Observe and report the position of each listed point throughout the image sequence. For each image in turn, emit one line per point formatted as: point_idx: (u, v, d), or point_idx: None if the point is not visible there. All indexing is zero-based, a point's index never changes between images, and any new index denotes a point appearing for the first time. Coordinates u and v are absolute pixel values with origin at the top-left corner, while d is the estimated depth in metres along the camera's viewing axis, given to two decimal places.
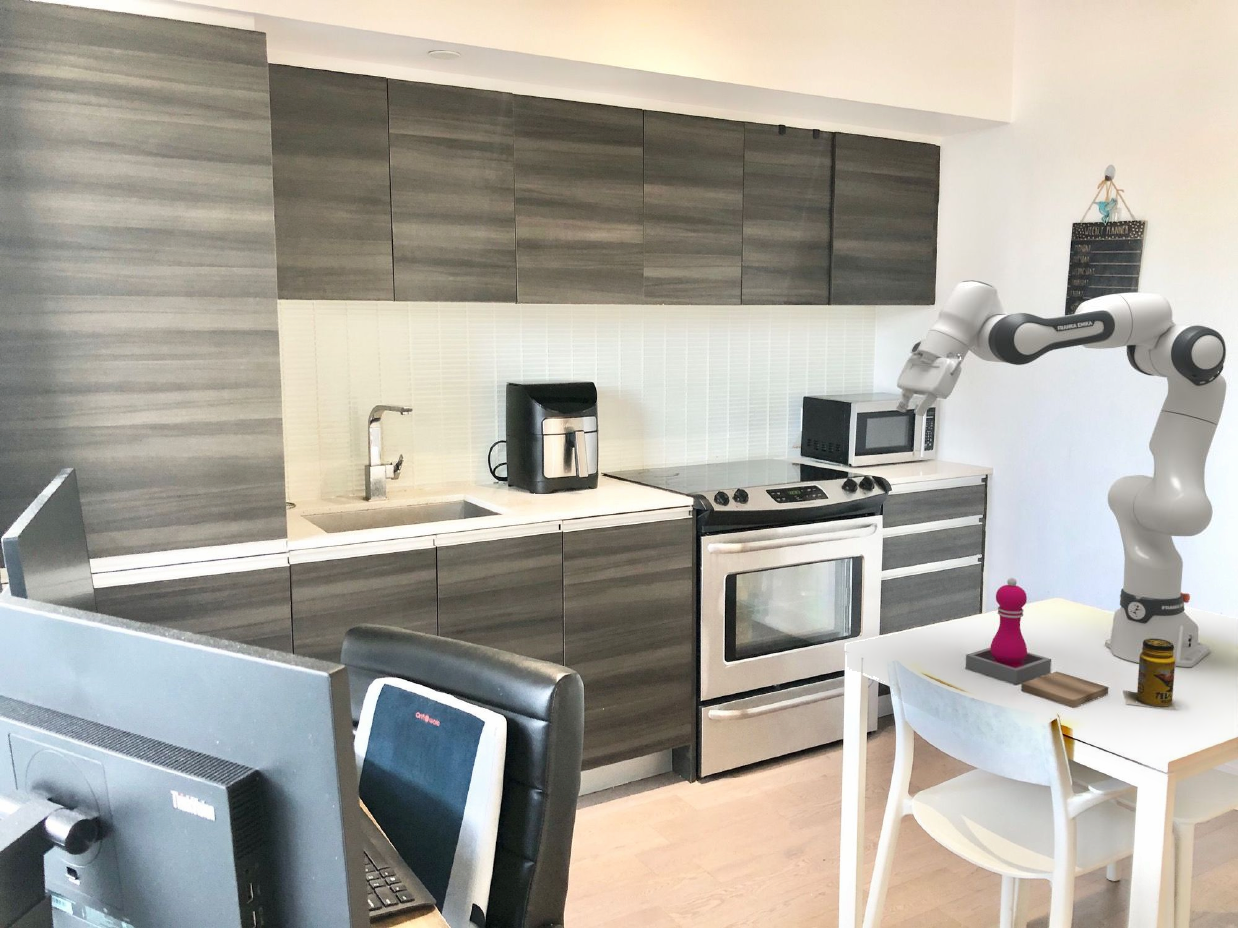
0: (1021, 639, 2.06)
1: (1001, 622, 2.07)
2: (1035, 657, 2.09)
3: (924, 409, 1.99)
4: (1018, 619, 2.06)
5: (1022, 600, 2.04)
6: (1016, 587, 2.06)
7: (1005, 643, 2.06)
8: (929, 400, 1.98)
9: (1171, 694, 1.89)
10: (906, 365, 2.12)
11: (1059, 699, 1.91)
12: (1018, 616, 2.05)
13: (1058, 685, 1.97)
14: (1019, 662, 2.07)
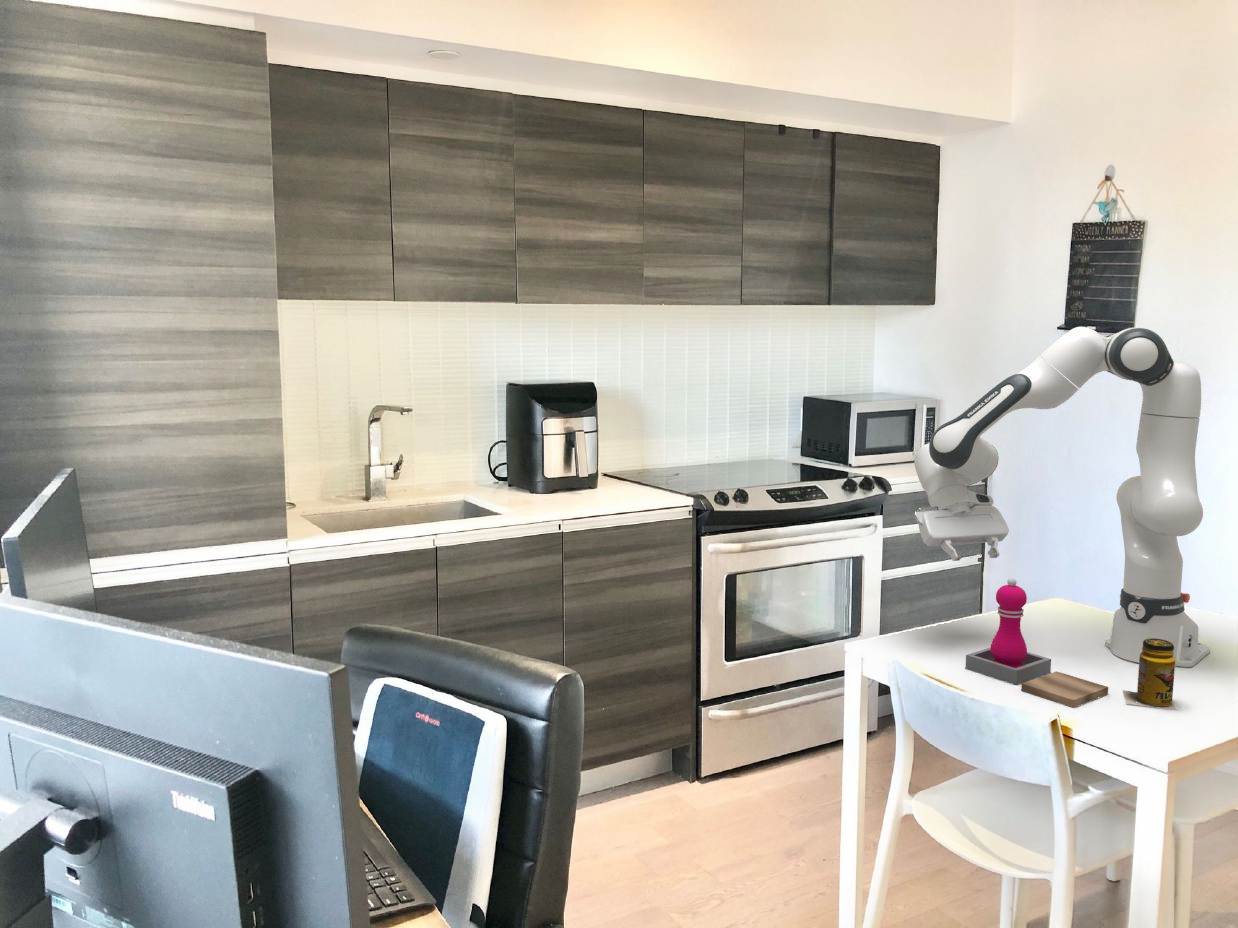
0: (1021, 639, 2.06)
1: (1001, 622, 2.07)
2: (1035, 657, 2.09)
3: (952, 553, 2.17)
4: (1018, 619, 2.06)
5: (1022, 600, 2.04)
6: (1016, 587, 2.06)
7: (1005, 643, 2.06)
8: (944, 547, 2.18)
9: (1171, 694, 1.89)
10: None
11: (1059, 699, 1.91)
12: (1018, 616, 2.05)
13: (1058, 685, 1.97)
14: (1019, 662, 2.07)
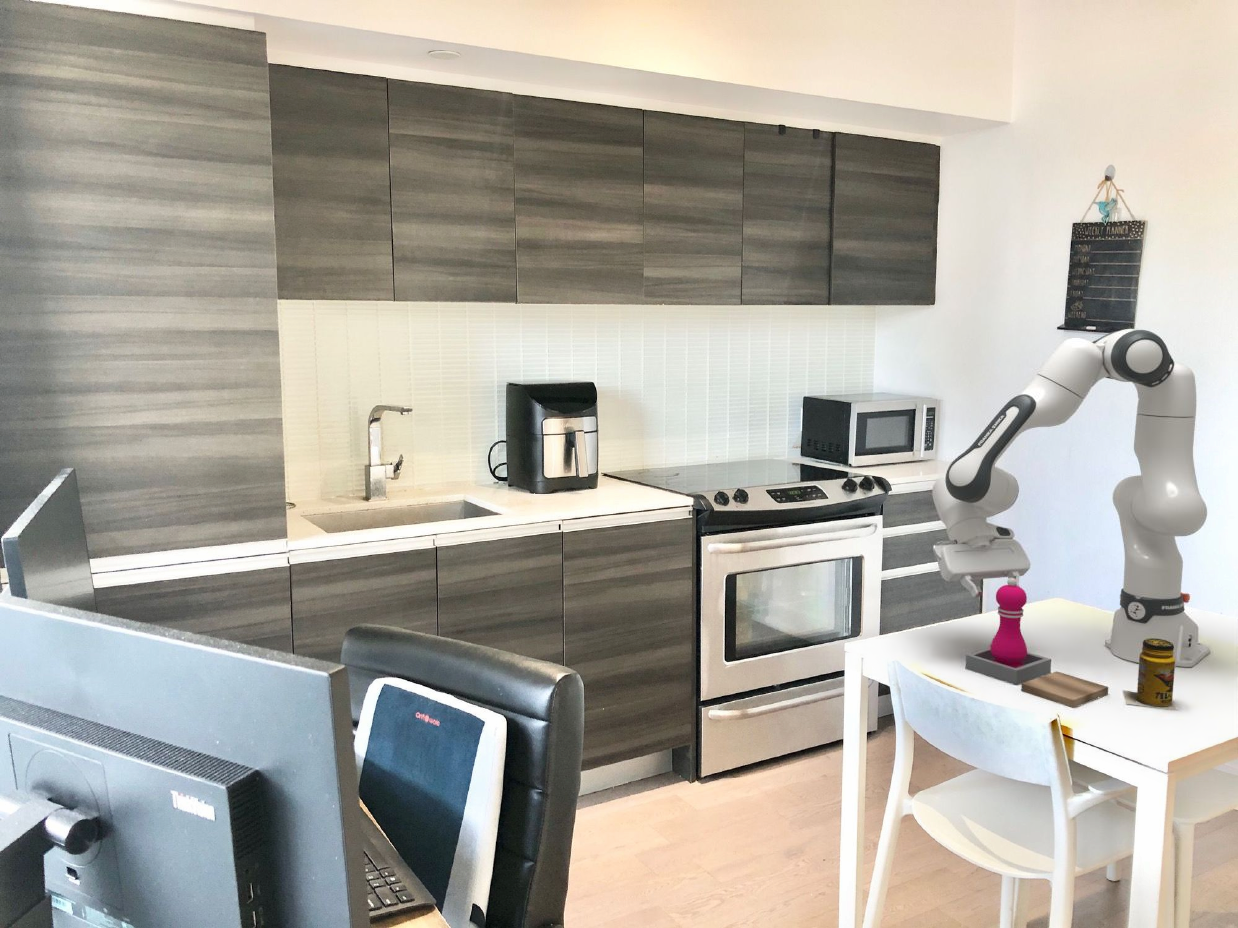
0: (1021, 639, 2.06)
1: (1001, 622, 2.07)
2: (1035, 657, 2.09)
3: (972, 588, 2.11)
4: (1018, 619, 2.06)
5: (1022, 600, 2.04)
6: (1016, 587, 2.06)
7: (1005, 643, 2.06)
8: (964, 582, 2.12)
9: (1171, 694, 1.89)
10: None
11: (1059, 699, 1.91)
12: (1018, 616, 2.05)
13: (1058, 685, 1.97)
14: (1019, 662, 2.07)
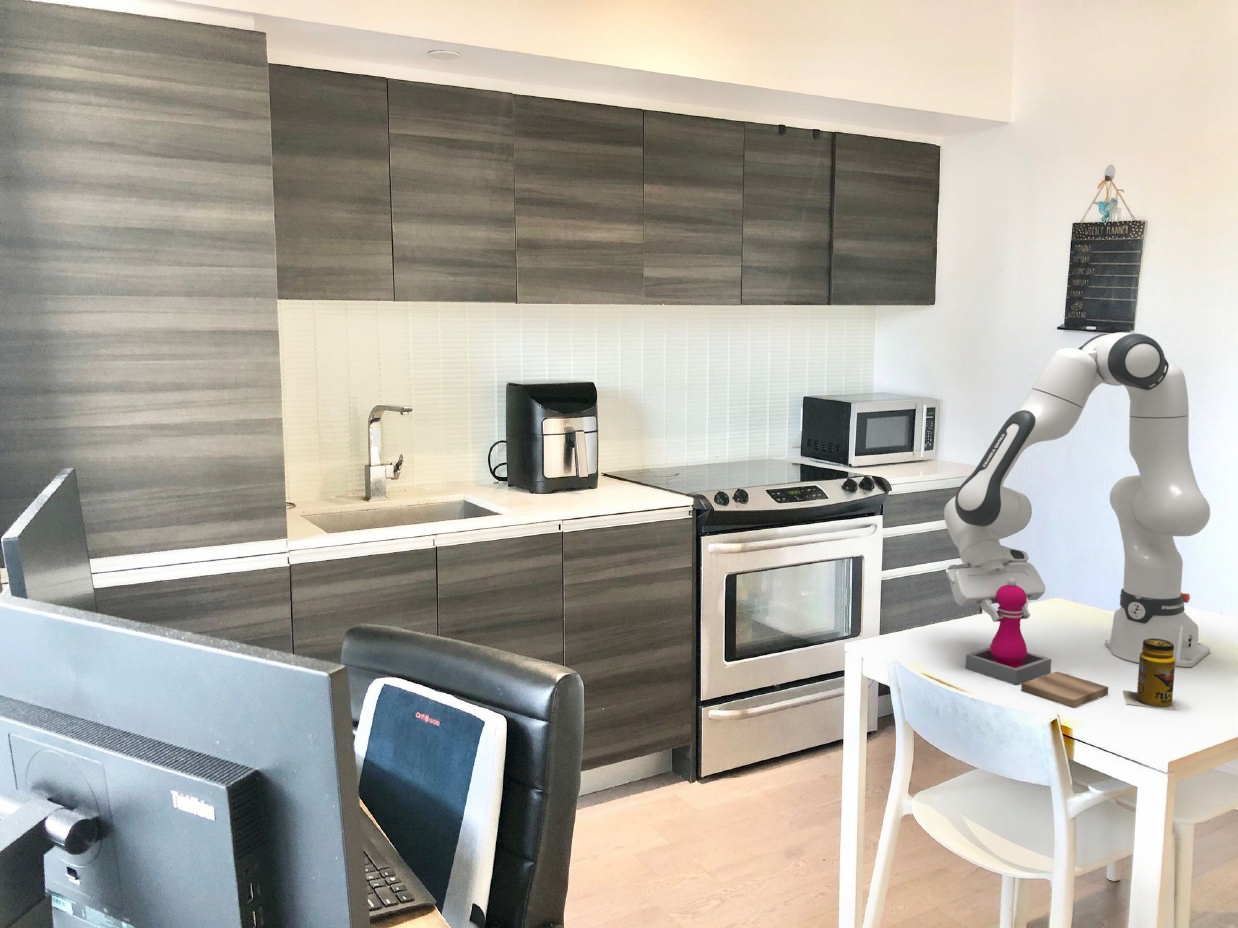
0: (1021, 639, 2.06)
1: (1001, 622, 2.07)
2: (1035, 657, 2.09)
3: (993, 613, 2.07)
4: (1018, 619, 2.06)
5: (1022, 600, 2.04)
6: (1016, 587, 2.06)
7: (1005, 643, 2.06)
8: (984, 606, 2.08)
9: (1171, 694, 1.89)
10: None
11: (1059, 699, 1.91)
12: (1018, 616, 2.05)
13: (1058, 685, 1.97)
14: (1019, 662, 2.07)
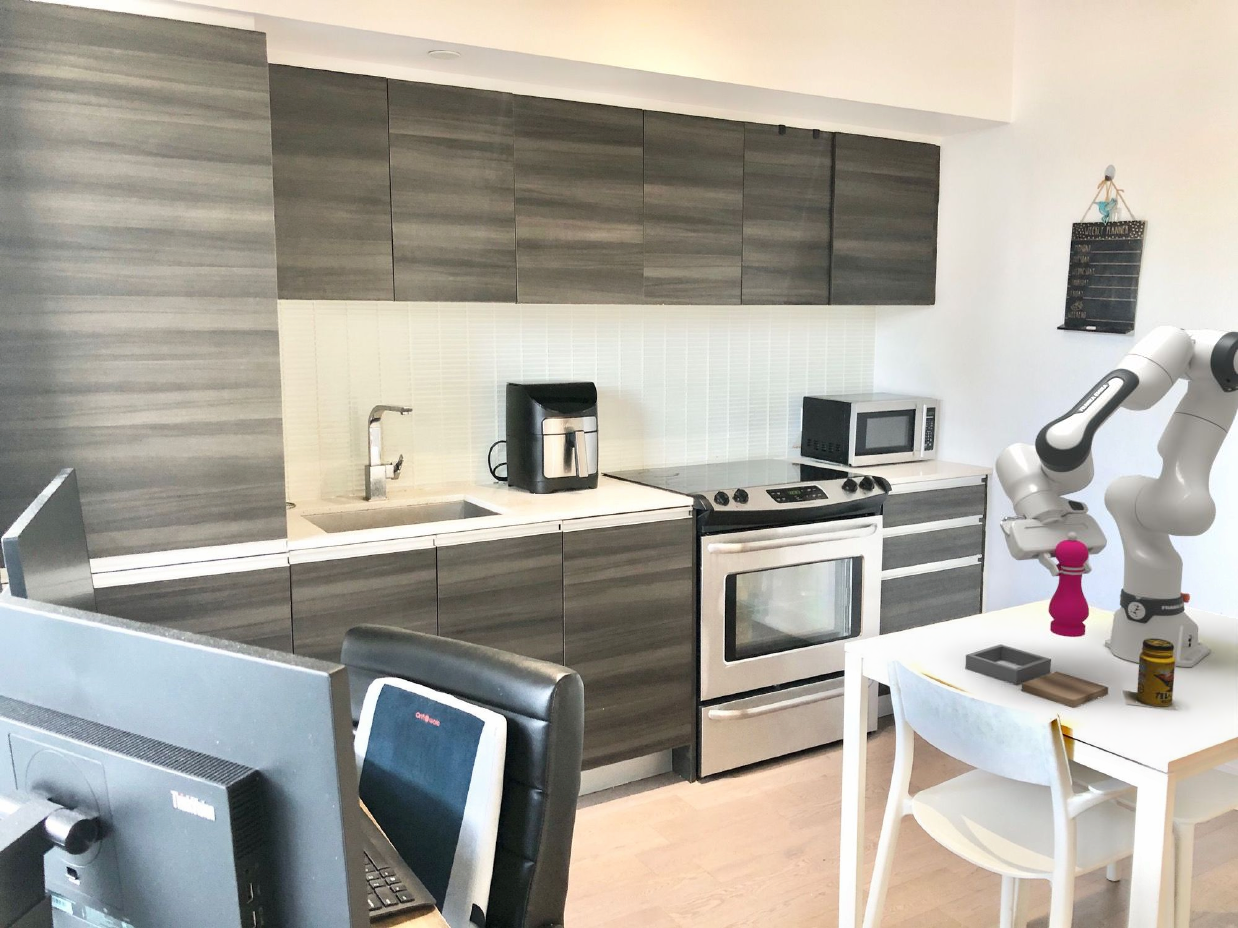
0: (1083, 598, 1.92)
1: (1061, 580, 1.93)
2: (1035, 657, 2.09)
3: (1052, 567, 1.93)
4: (1079, 576, 1.92)
5: (1084, 555, 1.90)
6: (1077, 542, 1.92)
7: (1066, 602, 1.92)
8: (1043, 560, 1.94)
9: (1171, 694, 1.89)
10: None
11: (1059, 699, 1.91)
12: (1080, 573, 1.91)
13: (1058, 685, 1.97)
14: (1080, 622, 1.93)
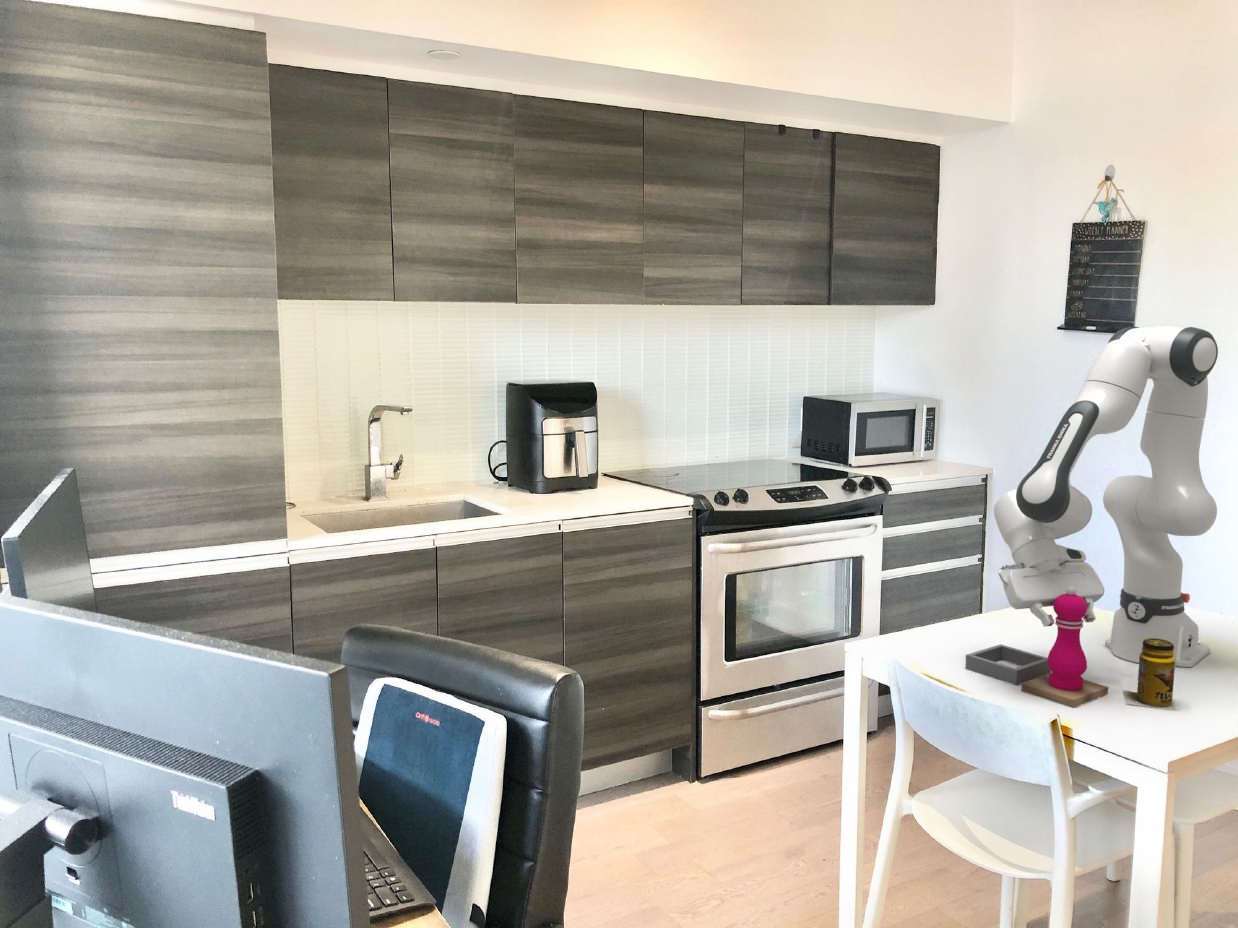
0: (1081, 652, 1.93)
1: (1059, 633, 1.95)
2: (1035, 657, 2.09)
3: (1044, 617, 1.93)
4: (1078, 630, 1.93)
5: (1082, 610, 1.92)
6: (1076, 596, 1.93)
7: (1064, 656, 1.93)
8: (1034, 610, 1.95)
9: (1171, 694, 1.89)
10: None
11: (1059, 699, 1.91)
12: (1078, 627, 1.93)
13: None
14: (1079, 676, 1.94)
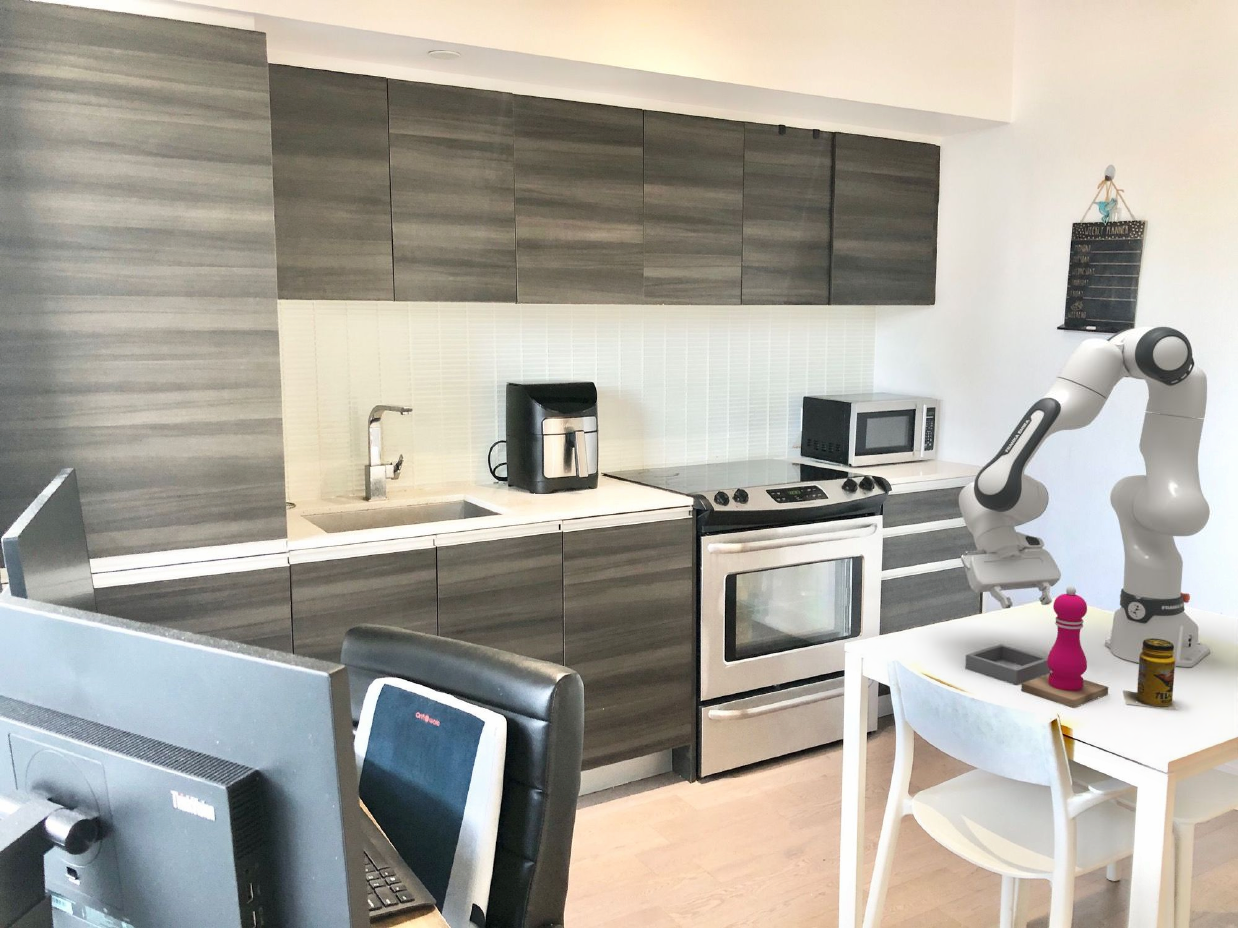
0: (1081, 652, 1.93)
1: (1059, 633, 1.95)
2: (1035, 657, 2.09)
3: (1002, 600, 2.06)
4: (1078, 630, 1.93)
5: (1082, 610, 1.92)
6: (1076, 596, 1.93)
7: (1064, 656, 1.93)
8: (994, 593, 2.07)
9: (1171, 694, 1.89)
10: None
11: (1059, 699, 1.91)
12: (1078, 627, 1.93)
13: None
14: (1079, 676, 1.94)
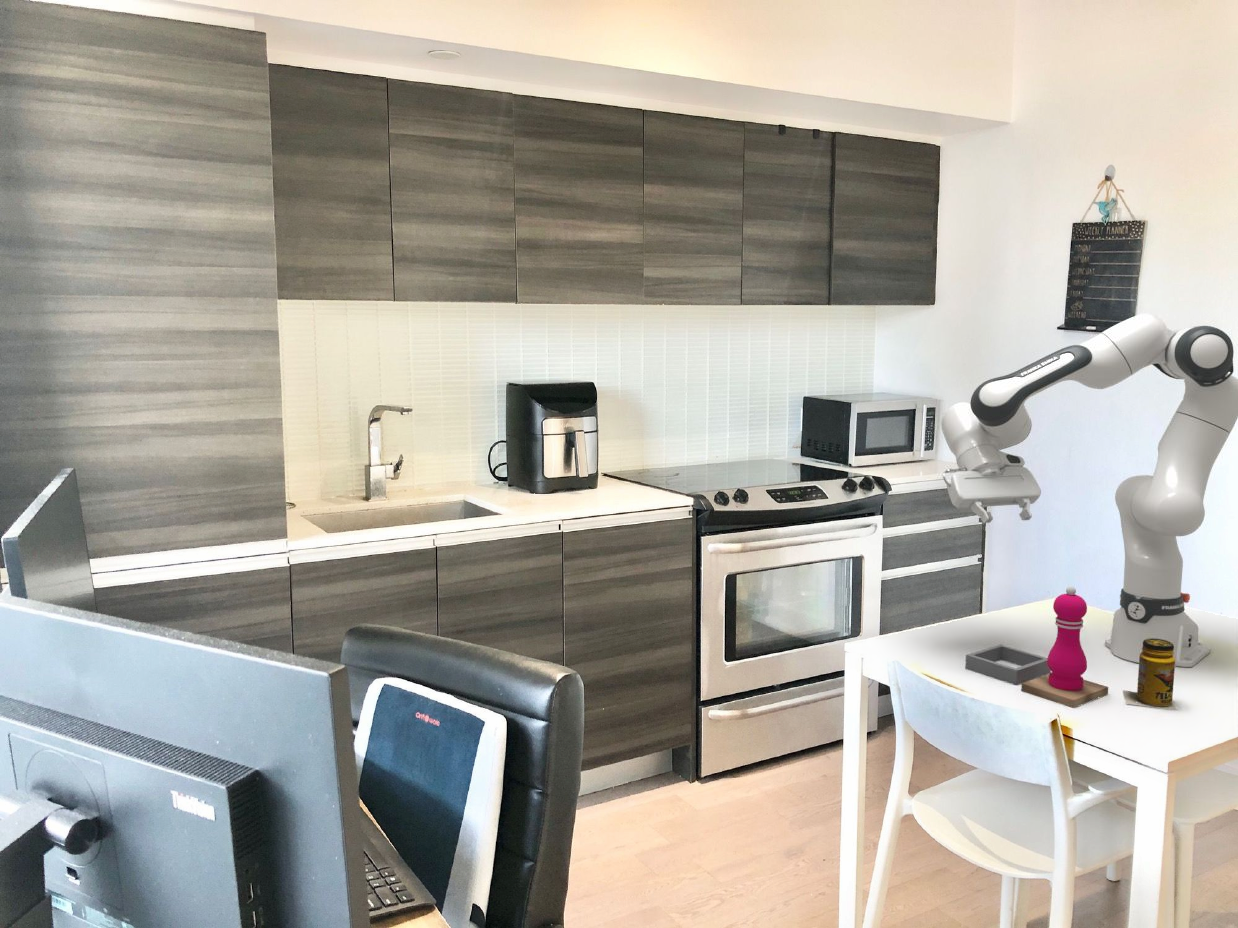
0: (1081, 652, 1.93)
1: (1059, 633, 1.95)
2: (1035, 657, 2.09)
3: (983, 514, 2.08)
4: (1078, 630, 1.93)
5: (1082, 610, 1.92)
6: (1076, 596, 1.93)
7: (1064, 656, 1.93)
8: (974, 508, 2.10)
9: (1171, 694, 1.89)
10: None
11: (1059, 699, 1.91)
12: (1078, 627, 1.93)
13: None
14: (1079, 676, 1.94)
